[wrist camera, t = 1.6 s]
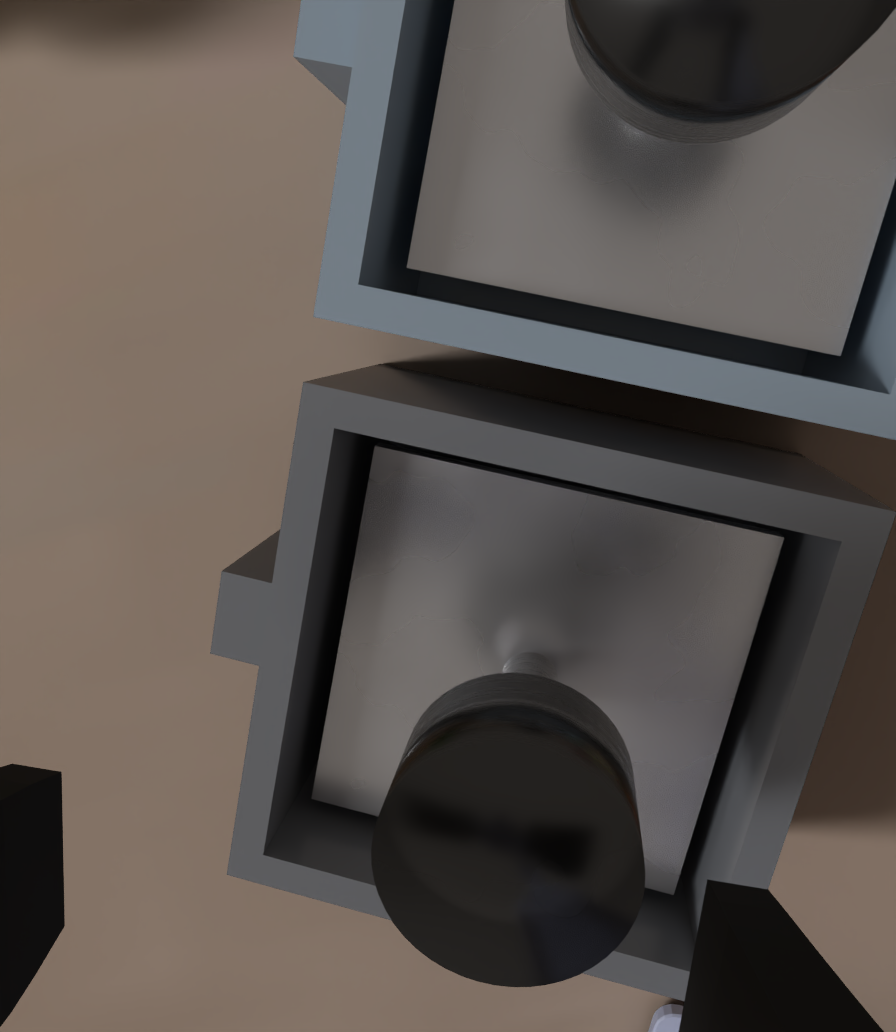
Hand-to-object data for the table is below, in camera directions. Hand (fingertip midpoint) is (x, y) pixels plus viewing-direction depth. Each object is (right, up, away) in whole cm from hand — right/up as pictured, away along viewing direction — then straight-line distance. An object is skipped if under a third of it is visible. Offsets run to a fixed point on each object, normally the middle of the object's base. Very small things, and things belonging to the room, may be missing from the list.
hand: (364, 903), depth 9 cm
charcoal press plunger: (+2, +1, +6) cm, 7 cm away
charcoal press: (+3, +2, +10) cm, 11 cm away
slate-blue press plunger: (+4, +11, +4) cm, 12 cm away
